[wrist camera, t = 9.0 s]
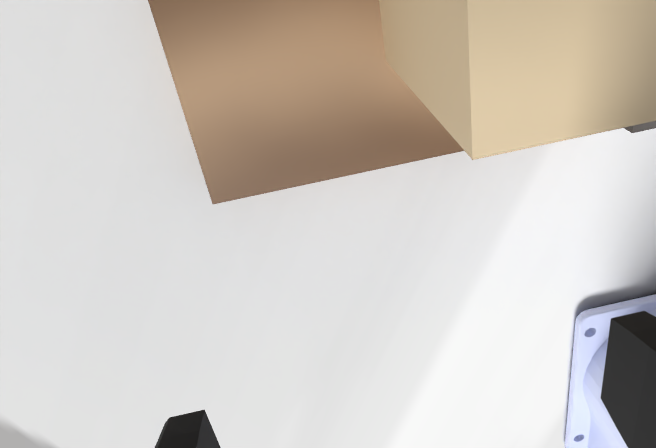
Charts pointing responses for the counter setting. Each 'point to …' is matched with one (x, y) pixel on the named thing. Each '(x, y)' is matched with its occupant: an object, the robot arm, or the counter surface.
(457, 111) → the box
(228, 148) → the tan tray
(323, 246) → the counter surface
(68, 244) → the counter surface
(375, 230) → the counter surface
